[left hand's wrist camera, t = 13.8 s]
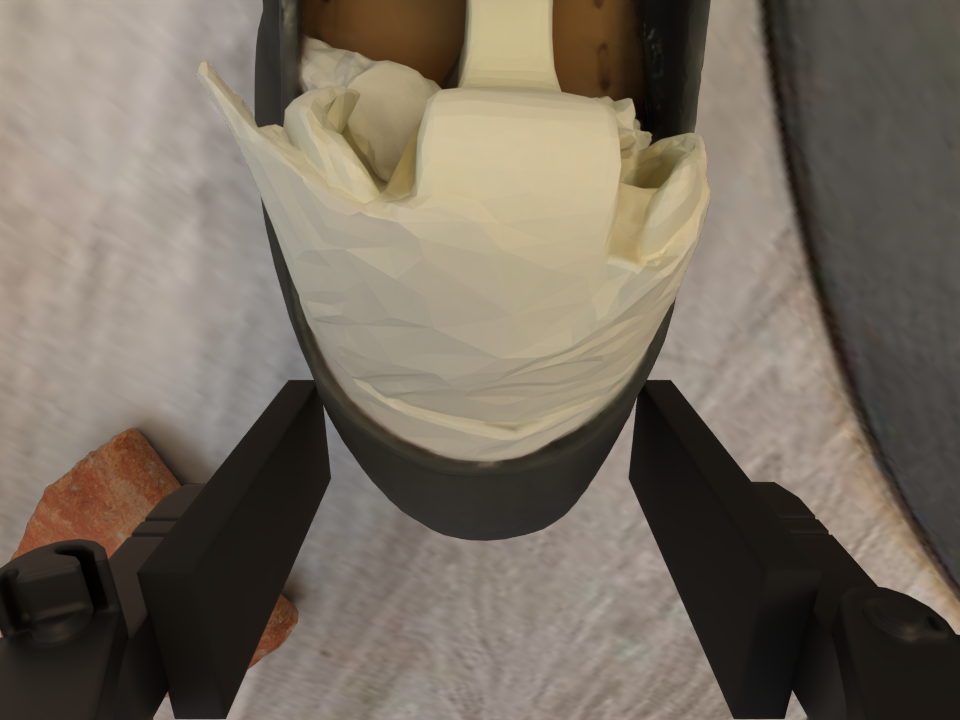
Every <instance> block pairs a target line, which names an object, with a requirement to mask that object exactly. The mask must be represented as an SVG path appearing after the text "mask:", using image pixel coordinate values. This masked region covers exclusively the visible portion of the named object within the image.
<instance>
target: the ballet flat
mask: <svg viewBox="0 0 960 720" xmlns="http://www.w3.org/2000/svg"><path fill="white" fill-rule="evenodd" d="M710 1H711V0H263V13H262V17H261V21H260V25H259V29H258V36H257V44H256V61H255V119H254V117H253V115H252V113H251V112H250V110H249V108H248V107H247V105H246V104H245V102H244V101H243V99H242V98H241V97H240V96H239V95H237V94H235V93H234V92H233V91H232V90H231V89H230V88H229V87H228V86H227V85H226V84H225V83H224V81H223V80H222V79H221V78H220V77H219V76H218V75H217V73H216V71H215V69H214V68H213V67H212V66H211V65H210V64H209V63H208V62H207V61H204V62H201V64H200V67H199V69H198V71H197V73H196V77H197V78H198V79H199V81H200V82H201V83H202V84H203V86H204V87H205V88H206V90H207V92H208V93H209V95H210V96H211V98H212V100H213V101H214V103H215V105H216V106H217V108H218V109H219V111H220V113H221V114H222V116H223V118H224V119H225V121H226V123H227V124H228V126H229V128H230V130H231V132H232V134H233V136H234V138H235V140H236V142H237V144H238V146H239V148H240V150H241V152H242V154H243V156H244V158H245V160H246V162H247V163H248V166H249V168H250V171H251V173H252V176H253V178H254V181H255V183H256V186H257V188H258V190H259V193H260V195H261V200H262V207H263V213H264V219H265V225H266V230H267V234H268V239H269V243H270V248H271V252H272V256H273V261H274V265H275V269H276V272H277V276H278V279H279V283H280V286H281V290H282V293H283V297H284V300H285V304H286V307H287V311H288V314H289V318H290V320H291V323H292V326H293V329H294V331H295V334H296V337H297V339H298V342H299V345H300V348H301V350H302V352H303V355H304V357H305V359H306V361H307V364H308V366H309V368H310V370H311V373H312V376H313V378H314V381H315V384H316V388H317V391H318V395H319V397H320V399H321V401H322V403H323V405H324V407H325V409H326V411H327V413H328V415H329V417H330V419H331V421H332V422H333V424H334V426H335V428H336V429H337V431H338V433H339V435H340V436H341V438H342V440H343V442H344V443H345V445H346V446H347V447H348V449H349V450H350V452H351V453H352V454H353V456H354V457H355V459H356V460H357V462H358V463H359V464H360V466H361V467H362V469H363V470H364V471H365V472H366V474H367V475H368V476H369V478H370V479H371V480H372V481H373V482H374V484H375V485H376V486H377V487H378V488H379V489H380V490H381V491H382V492H383V493H384V494H385V495H386V496H387V498H388V499H389V500H390V501H391V502H393V503H394V504H395V505H396V506H397V507H398V508H399V509H400V510H401V511H403V512H404V513H406V514H407V515H409V516H410V517H412V518H413V519H415V520H417V521H419V522H420V523H422V524H424V525H425V526H427V527H428V528H430V529H432V530H434V531H436V532H438V533H441V534H443V535H446V536H451V537H455V538H460V539H466V540H482V541H489V540H500V539H508V538H512V537H517V536H522V535H526V534H529V533H533V532H536V531H539V530H542V529H544V528H546V527H548V526H549V525H551V524H552V523H554V522H556V521H557V520H558V519H560V518H561V517H563V516H564V515H565V514H566V513H567V512H568V511H569V510H570V509H571V508H572V507H573V506H574V505H575V503H576V502H577V501H578V499H579V498H580V497H581V495H582V494H583V493H584V492H585V490H586V489H587V488H588V486H589V484H590V483H591V481H592V480H593V478H594V477H595V475H596V474H597V472H598V470H599V469H600V467H601V465H602V464H603V462H604V461H605V459H606V458H607V456H608V454H609V453H610V451H611V449H612V447H613V445H614V443H615V442H616V440H617V438H618V436H619V434H620V432H621V431H622V429H623V427H624V425H625V423H626V421H627V419H628V418H629V416H630V413H631V411H632V408H633V406H634V403H635V400H636V398H637V395H638V394H639V392H640V391H641V389H642V387H643V386H644V384H645V382H646V380H647V378H648V376H649V374H650V372H651V370H652V368H653V366H654V364H655V362H656V359H657V357H658V355H659V352H660V350H661V348H662V346H663V343H664V341H665V338H666V334H667V331H668V327H669V324H670V320H671V317H672V313H673V310H674V304H675V299H676V294H677V292H678V289H679V287H680V284H681V282H682V279H683V277H684V274H685V272H686V269H687V266H688V263H689V260H690V258H691V256H692V254H693V252H694V250H695V248H696V246H697V245H698V241H699V238H700V234H701V230H702V227H703V223H704V220H705V216H706V213H707V209H708V206H709V201H710V193H711V191H710V188H709V185H708V182H707V179H706V176H707V156H706V150H705V145H704V141H703V138H702V137H701V136H700V135H699V134H698V133H694V130H695V125H696V117H697V104H698V95H699V89H700V83H701V71H702V67H703V61H704V51H705V42H706V34H707V25H708V17H709V9H710Z"/></svg>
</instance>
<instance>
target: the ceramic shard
mask: <svg viewBox="0 0 960 720" xmlns="http://www.w3.org/2000/svg"><path fill="white" fill-rule="evenodd" d="M180 487H182V486H181V485H180V483H179V482H178V481H177V480H176V478H175V477H174V476H173V474H172V473H171V472H170V471H169V469H168V468H167V467H166V466H165V464H164V463H163V462H162V460H161V459H160V457H159V456H158V455H157V453H156V452H155V451H154V449H153V448H152V447H151V445H150V444H149V442H148V441H147V440H146V438H145V437H144V435H143V434H141V433H140V432H139V431H138V430H136V429H133V428H131V429H128V430H127V431H124V432H122V433H121V434H118V435H116V436H114V437H113V438H112V439H111V440H110V441H109V442H108V443H107V444H105V445H103V446H101V447H100V448H99V449H98V450H97V451H93V452H90V453H89V454H88V455H87V456H86V458H85V459H83V460H81V461H80V462H78V463H77V464H76V465H75V467H74V468H73V469H72V470H70V471H69V472H68V473H67V474H65V475H64V476H63V477H61V478H60V479H59V480H57V481H56V482H55V483H54V484H52V485H49V486H48V487H47V488H45V491H44V494H43V497H42V499H41V500H40V502H39V503H38V506H37V508H36V510H35V512H34V514H33V515H32V517H31V519H30V520H29V522H28V523H27V527H26V531H25V534H24V537H23V539H22V541H21V542H20V545H19V548H18V550H17V551H16V552H15V553H14V555H13V556H12V558H11V560H13V559H14V558H16V557H19V556H21V555H23V554H25V553H27V552H29V551H31V550H33V549H35V548H38V547H41V546H45V545H48V544H51V543H55V542H58V541H65V540H74V539H84V540H91V541H96V542H98V543H99V544H100V545H102V546H103V547H104V548H105V550H106V553H107V557H108V559H109V558H110V557H111V556H112V555H113V553H114V552H115V551H116V550H117V549H118V548H119V547H120V546H121V544H122V543H123V542H124V541H125V540H126V539H127V538H128V537H131V535H132V532H133V531H134V530H135V529H136V527H137V526H138V525H139V524H140V523H141V522H142V521H145V517H146V516H147V515H148V514H149V513H150V512H151V510H152V509H153V508H154V507H155V506H156V505H157V504H158V503H159V501H160V500H161V499H163V498H164V497H166V496H167V495H169V494H171V493H172V492H174V491H175V490H177V489H178V488H180ZM11 560H10V561H11ZM297 622H298V610H297V608H296V606H295V605H294V604H292V603H291V602H290V601H289V600H287V599H286V598H285V597H284V596H283V595H282V594H280V596H279V598H278V601H277V603H276V605H275V608H274V610H273V612H272V614H271V617H270V619H269V621H268V624H267V626H266V628H265V630H264V633H263V635H262V637H261V640H260V642H259V644H258V646H257V649H256V651H255V653H254V656H253V658H252V660H251V662H250V665H249V667H248V669H249V668H250V667H252V666H253V665H255V664H256V663H257V662H258V661H260V660H261V659H262V658H263V657H264V656H266V655H267V654H269V653H271V652H272V651H274V650H276V649H278V648H279V647H280V646H281V645H282V643H283V642H284V641H285V640H286V639H287V638H288V636H289V635H290V633H291V632H292V630H293V628H294V627H295V625H296V624H297ZM0 632H1V630H0ZM2 637H3V635H2V633H1V638H2ZM248 669H247V670H248ZM168 696H169V694H168V692H167V694H166V696H165V697H168ZM165 697H164V698H165Z"/></svg>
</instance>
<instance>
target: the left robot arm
mask: <svg viewBox="0 0 960 720" xmlns="http://www.w3.org/2000/svg"><path fill="white" fill-rule="evenodd" d="M330 480H331V474H330V465H329V455H328V446H327V437H326V427H325V418H324V408H323V403H322V401H321V399H320V397H319V395H318V391H317V388H316V384H315V381H314V380H288V382H287V383H286V384H285V385H284V387H283V388H282V389H281V391H280V392H279V393H278V394H277V396H276V397H275V398H274V399H273V401H272V402H271V403H270V404H269V406H268V407H267V408H266V409H265V411H264V412H263V413H262V415H261V416H260V417H259V418H258V420H257V421H256V422H255V423H254V425H253V426H252V427H251V428H250V430H249V431H248V432H247V433H246V435H245V436H244V437H243V439H242V440H241V441H240V442H239V444H238V445H237V446H236V447H235V449H234V450H233V451H232V452H231V454H230V455H229V456H228V457H227V459H226V460H225V461H224V463H223V464H222V465H221V466H220V468H219V469H218V470H217V471H216V473H215V474H214V475H213V476H212V478H211V479H210V480H209V482H208V483H207V484H185V485H183V486H182V487H180V488H178V489H177V490H175V491H174V492H172V493H171V494H169V495H167V496H166V497H164V498H163V499H161V500H160V501H159V503H158V504H157V505H156V506H155V507H154V508H153V509H152V510H151V512H150V513H149V514H148V515H147V516H146V517H145V521H142V522H141V523H140V524H139V525H138V526H137V527H136V529H135V530H134V531H133V532H132V535H131V537H128V538H127V539H126V540H125V541H124V542H123V543H122V544H121V546H120V547H119V548H118V549H117V550H116V551H115V552H114V553H113V555H112V556H111V557H110V558H109V559H108V557H107V553H106V550H105V548H104V547H103V546H102V545H100V544H99V543H98V542H96V541H91V540H84V539H74V540H65V541H58V542H55V543H51V544H48V545H45V546H41V547H38V548H35V549H33V550H31V551H29V552H27V553H25V554H23V555H21V556H19V557H16V558H14V559H13V560H11V561H10V562H9V563H7V564H6V565H4V566H3V567H2V568H0V630H1V633H2V635H3V637H2V638H0V720H153V717H154V715H155V713H156V712H157V710H158V708H159V706H160V704H161V703H162V701H163V699H164V697H165V696H166V694H167V692H168V694H169V698H170V702H171V705H172V709H173V713H174V717H175V719H226V717H227V715H228V713H229V710H230V708H231V706H232V704H233V701H234V699H235V697H236V694H237V692H238V690H239V688H240V685H241V683H242V681H243V678H244V676H245V674H246V672H247V669H248V667H249V665H250V662H251V660H252V658H253V656H254V653H255V651H256V649H257V646H258V644H259V642H260V640H261V637H262V635H263V633H264V630H265V628H266V626H267V624H268V621H269V619H270V617H271V614H272V612H273V610H274V608H275V605H276V603H277V601H278V598H279V596H280V594H281V592H282V589H283V587H284V585H285V582H286V580H287V578H288V576H289V573H290V571H291V569H292V566H293V564H294V562H295V560H296V557H297V555H298V553H299V550H300V548H301V546H302V544H303V541H304V539H305V537H306V534H307V532H308V530H309V528H310V525H311V523H312V521H313V518H314V516H315V514H316V512H317V509H318V507H319V505H320V502H321V500H322V498H323V496H324V493H325V491H326V489H327V486H328V484H329V482H330ZM629 480H630V483H631V485H632V487H633V490H634V492H635V494H636V496H637V499H638V501H639V503H640V506H641V508H642V510H643V512H644V515H645V517H646V519H647V522H648V524H649V526H650V528H651V531H652V533H653V535H654V538H655V540H656V542H657V544H658V547H659V549H660V551H661V554H662V556H663V558H664V560H665V563H666V565H667V567H668V570H669V572H670V574H671V576H672V579H673V581H674V583H675V586H676V588H677V590H678V592H679V595H680V597H681V599H682V602H683V604H684V606H685V609H686V611H687V613H688V615H689V618H690V620H691V622H692V625H693V627H694V629H695V631H696V634H697V636H698V638H699V641H700V643H701V645H702V647H703V650H704V652H705V654H706V657H707V659H708V661H709V663H710V666H711V668H712V670H713V673H714V675H715V677H716V679H717V682H718V684H719V686H720V689H721V691H722V693H723V695H724V698H725V700H726V702H727V705H728V707H729V709H730V711H731V714H732V716H733V718H734V719H785V715H786V711H787V707H788V704H789V700H790V696H791V692H792V690H793V692H794V693H795V695H796V697H797V699H798V700H799V702H800V704H801V706H802V707H803V709H804V711H805V713H806V715H807V720H960V635H957V634H955V632H954V631H953V629H952V628H951V627H950V625H949V624H948V622H947V621H946V620H945V619H944V618H942V617H941V616H940V615H939V614H937V613H936V612H935V611H934V610H932V609H931V608H930V607H929V606H927V605H925V604H923V603H921V602H919V601H918V600H916V599H914V598H912V597H910V596H908V595H906V594H903V593H900V592H897V591H894V590H891V589H888V588H883V587H878V586H877V585H876V584H875V583H874V582H873V580H872V579H871V578H870V577H869V576H868V575H867V574H866V573H865V571H864V570H863V569H862V568H861V567H860V566H859V565H858V564H857V562H856V561H855V560H854V559H853V558H852V557H851V556H850V555H849V553H848V552H847V551H846V550H845V549H844V548H843V547H842V546H841V544H840V543H839V542H838V541H837V540H836V539H835V538H834V537H833V535H829V533H828V532H829V531H828V530H827V529H826V528H825V526H824V525H823V524H822V523H821V522H820V521H819V520H818V519H815V515H814V514H813V513H812V512H811V511H810V510H809V508H808V507H807V506H806V505H805V504H804V503H803V502H802V501H801V499H800V498H799V497H797V496H796V495H794V494H792V493H791V492H789V491H788V490H786V489H784V488H783V487H781V486H780V485H778V484H777V483H775V482H751V481H750V480H749V478H748V477H747V476H746V475H745V473H744V472H743V471H742V469H741V468H740V467H739V466H738V464H737V463H736V462H735V461H734V459H733V458H732V457H731V456H730V454H729V453H728V452H727V450H726V449H725V448H724V447H723V445H722V444H721V443H720V442H719V440H718V439H717V438H716V437H715V435H714V434H713V433H712V432H711V430H710V429H709V428H708V426H707V425H706V424H705V423H704V421H703V420H702V419H701V418H700V416H699V415H698V414H697V413H696V411H695V410H694V409H693V408H692V406H691V405H690V404H689V402H688V401H687V400H686V399H685V397H684V396H683V395H682V394H681V392H680V391H679V390H678V389H677V387H676V386H675V385H674V383H673V382H672V381H671V380H646V382H645V384H644V386H643V387H642V389H641V391H640V392H639V394H638V395H637V404H636V414H635V423H634V433H633V442H632V451H631V461H630V470H629Z"/></svg>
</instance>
